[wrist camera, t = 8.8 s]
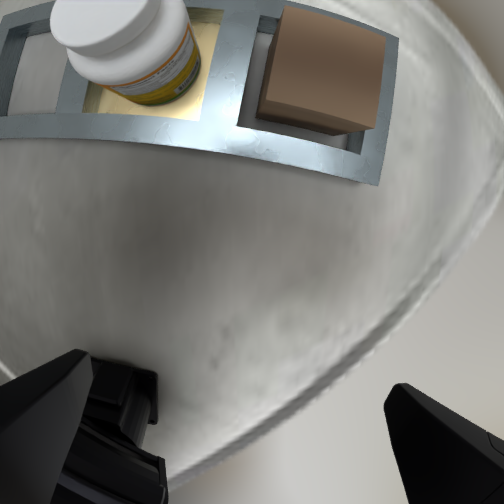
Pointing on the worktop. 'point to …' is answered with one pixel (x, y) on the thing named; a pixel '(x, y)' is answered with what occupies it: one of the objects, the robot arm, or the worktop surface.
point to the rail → (196, 95)
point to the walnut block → (322, 74)
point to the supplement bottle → (130, 46)
